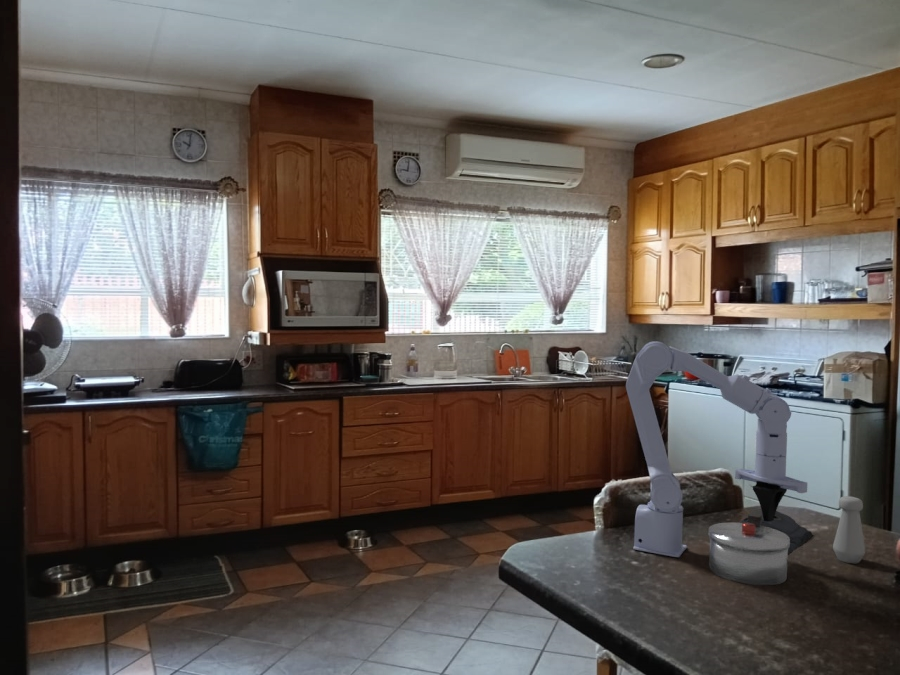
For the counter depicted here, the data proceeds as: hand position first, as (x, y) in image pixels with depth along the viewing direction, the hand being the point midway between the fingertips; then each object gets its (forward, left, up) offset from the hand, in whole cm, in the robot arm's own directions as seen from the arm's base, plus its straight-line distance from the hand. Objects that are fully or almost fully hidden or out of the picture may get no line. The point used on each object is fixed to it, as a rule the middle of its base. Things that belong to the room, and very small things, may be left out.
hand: (768, 520), depth 146 cm
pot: (-3, -6, -8) cm, 11 cm away
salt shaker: (+14, +10, -8) cm, 19 cm away
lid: (-3, -6, -2) cm, 7 cm away
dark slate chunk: (-2, +17, -9) cm, 20 cm away
